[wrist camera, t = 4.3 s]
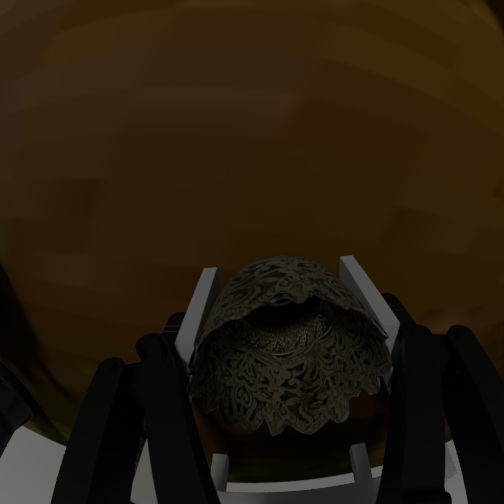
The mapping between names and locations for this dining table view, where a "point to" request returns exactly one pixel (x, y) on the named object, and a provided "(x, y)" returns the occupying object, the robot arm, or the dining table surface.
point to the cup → (286, 348)
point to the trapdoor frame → (315, 500)
